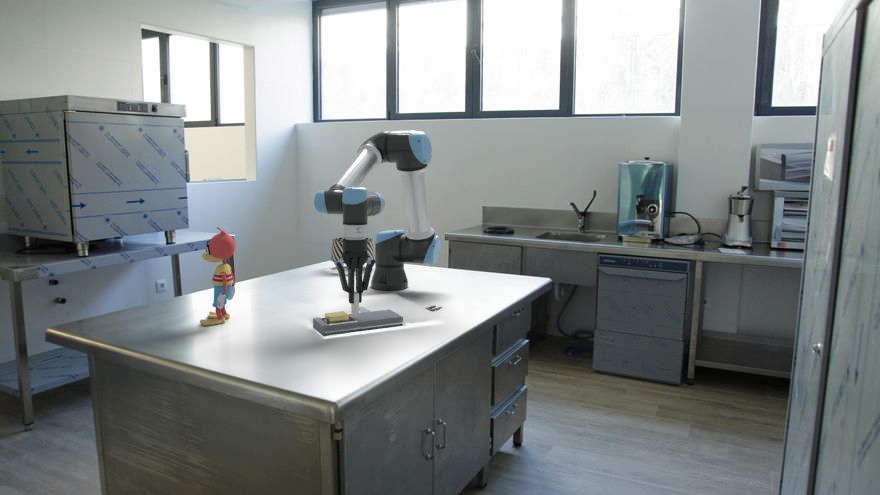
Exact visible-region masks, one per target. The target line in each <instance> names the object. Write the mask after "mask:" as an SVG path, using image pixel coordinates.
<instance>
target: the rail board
mask: <svg viewBox="0 0 880 495" xmlns="http://www.w3.org/2000/svg"><path fill="white" fill-rule="evenodd" d="M347 314H348V315H349V322H341V323H333V324H327V323H326V322H324V321H323V320H324V319H325V316H320V317H313V318H312V328H313V329H314V330H315V331H316V332H317V333H319V334H320V335H322V337H327V336H334V335H342V334H351V333H357V332H366V331H373V330H382V329H389V328H398V327H403V326H404V324H403V323H401V322H404V316H402V315H400V314H398V313H397V312H395V311H394V310H391V309H382V310H376V311H375V310H374V311H371V312H363V313H362V312H359V314H353V313H347ZM393 323H396V324H393ZM384 324H386V325H384ZM387 324H388V325H387ZM377 325H379V326H377ZM370 326H371V327H370ZM361 327H363V328H361ZM351 328H355V329H351ZM356 328H357V329H356ZM344 329H345V330H344ZM346 329H347V330H346ZM348 329H349V330H348ZM336 330H338V331H336ZM339 330H340V331H339ZM329 331H332V332H329Z"/></svg>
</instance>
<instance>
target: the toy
mask: <svg viewBox="0 0 880 495" xmlns="http://www.w3.org/2000/svg"><path fill="white" fill-rule="evenodd" d="M216 229H217V230H219V231H220V232H219V233H217V234H214V236H212V238H211V239H209V240H206V245H205V247H206V248H205V252H203V253H202V254H201V256H202V259H203V260H204V261H206V262H208V263H221V262H222V263H221V264H219V265H217V266H216V268H215V269H214V272H213V276H212V280H211V284H212V285H213V302H212V308H215V312H214V311H209V312H208V314H207V318H209V319H200V320H199V323H200V325H201V326H204V327H211V326H216V325H221V324H225V323H226V320H228V319H230V318H231V316H230V314H229V313H228V312H227V310H226V305H227V302H228V301H232V300H233V298H234V296H235V293H236V280H235V277H234V273H233V271H232V267H231V265H230V264H229V263H227V259H230V258H231V257H233V255H234V253H235V249H236V243H235V239H234V238H233V237H232V236H231V235H230V234H228V233H227V232H226V231H225V230H224V229H222V228H220V227H217V226H216Z"/></svg>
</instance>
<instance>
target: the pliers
mask: <svg viewBox="0 0 880 495" xmlns="http://www.w3.org/2000/svg"><path fill="white" fill-rule="evenodd" d="M440 308H441V309H442V308H443V307H442V306H438V307H436V305H431V306H428V307H425V308H424V309H426V310H427V311H429V312H431V311H432V312H436V311H439V310H441V309H440ZM435 310H436V311H435Z"/></svg>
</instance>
